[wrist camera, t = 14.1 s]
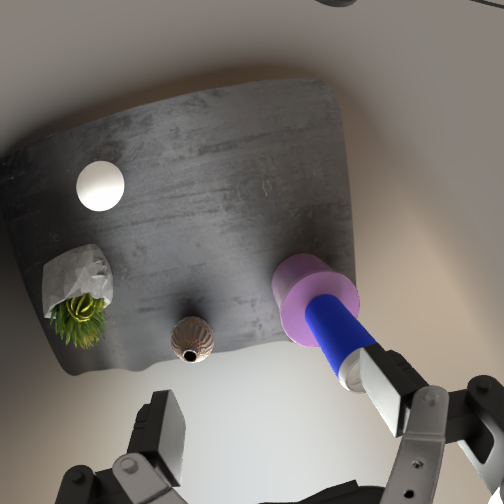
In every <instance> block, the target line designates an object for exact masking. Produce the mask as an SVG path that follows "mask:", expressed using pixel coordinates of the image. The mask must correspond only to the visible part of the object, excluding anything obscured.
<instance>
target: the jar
mask: <svg viewBox="0 0 504 504" xmlns="http://www.w3.org/2000/svg"><path fill="white" fill-rule="evenodd" d="M271 288H272V293H273V296H274V298H275V300H276V303H277V305H278V307H279V310H280V320H281V324H282V326H283V328H284V331H285V332H286V334H287V335H288V336H289V337H290V338H291V339H292V340H293V341H294V342H296V343H298V344H300V345H303V346H306V347H320V346H319V344H318V342H317V340H316V338H315V337H314V335H313V333H312V331H311V330H310V328H309V326H308V324H307V323H306V320H305V309H306V307H307V305H308V304H309V302H310V301H311V300H312V299H313V298H315V297H317V296H319V295H322V294H330V295H333V296H335V297H337V298H338V299H339V300H340V301H341V302H342V304H343V305H344V306H345V307H346V308H347V309H348V310H349V311H350V312H351V314H352V315H353V316H354V317H355V318H356V319H357V316H358V313H359V307H360V300H359V295H358V291H357V289H356V287H355V286H354V284H353V283H352V282H351V281H350V280H349V279H348V278H347V277H345V276H344V275H343V274H341V273H339V272H336V271H333V270H332V269H331V268H330V267H329V266H328V265H327V264H326V263H324V262H323V261H322V260H321V259H320V258H318V257H316V256H314V255H311V254H296V255H293V256H290V257H288V258H287V259H285V260H284V261H282V262H281V263H280V264H279V266H278V267H277V268H276V270H275V272H274V274H273V277H272V282H271Z"/></svg>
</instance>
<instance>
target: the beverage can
mask: <svg viewBox="0 0 504 504" xmlns="http://www.w3.org/2000/svg"><path fill="white" fill-rule="evenodd" d="M305 320H306V323H307V324H308V326H309V328H310V330H311V331H312V333H313V335H314V337H315V338H316V340H317V342H318V344H319V346H320V347H321V349H322V351H323V353H324V354H325V356H326V358H327V360H328V361H329V363H330V365H331V367H332V369H333V370H334V372H335V374H336V376H337V378H338V379H339V381H340V383H341V384H342V386H344V387H345V388H346V389H348V390H350V391H351V392H353V393H366V391H365V389H364V387H363V385H362V381H361V373H360V348H361V347H365V346H368V345H371V344H374V343H377V342H376V341H375V339H374V338H373V337H372V336H371V335H370V334H369V333H368V332H367V330H366V329H365V328H364V327H363V326H362V325H361V324H360V322H359V321H358V320H357V319H356V318H355V317H354V316H353V315H352V314H351V312H350V311H349V310H348V309H347V308H346V307H345V306H344V305H343V304H342V302H341V301H340V300H339V299H338V298H337V297H335V296H333V295H330V294H322V295H319V296H317V297H315V298H313V299H312V300H311V301H310V302H309V304H308V305H307V307H306V309H305Z"/></svg>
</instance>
